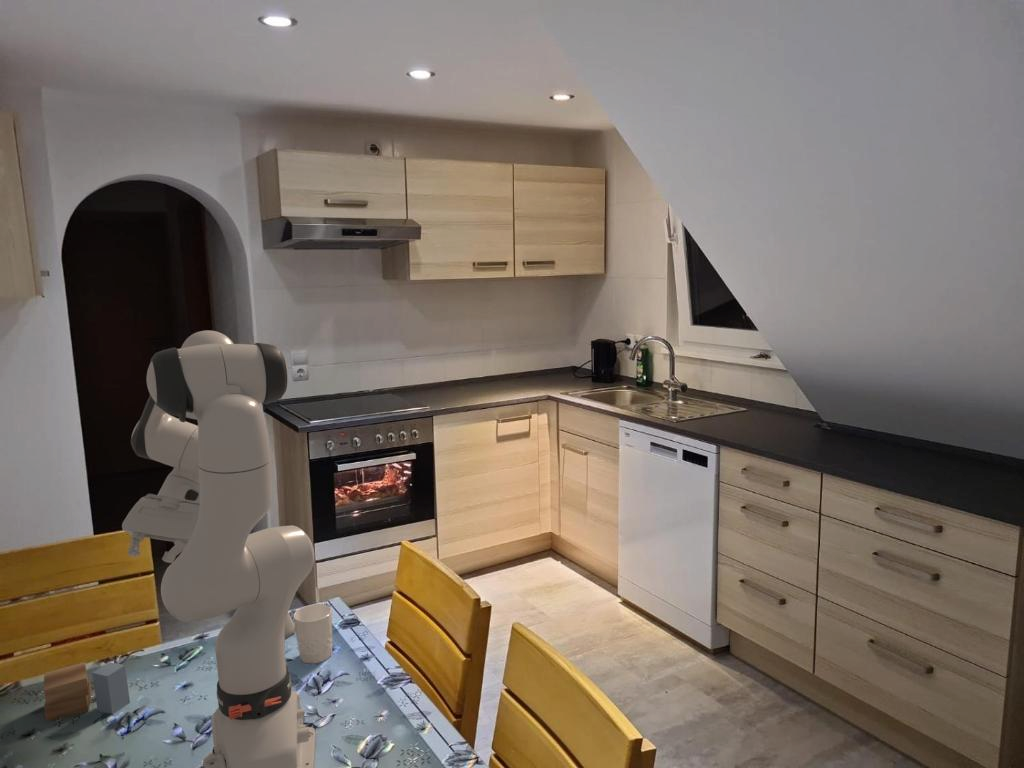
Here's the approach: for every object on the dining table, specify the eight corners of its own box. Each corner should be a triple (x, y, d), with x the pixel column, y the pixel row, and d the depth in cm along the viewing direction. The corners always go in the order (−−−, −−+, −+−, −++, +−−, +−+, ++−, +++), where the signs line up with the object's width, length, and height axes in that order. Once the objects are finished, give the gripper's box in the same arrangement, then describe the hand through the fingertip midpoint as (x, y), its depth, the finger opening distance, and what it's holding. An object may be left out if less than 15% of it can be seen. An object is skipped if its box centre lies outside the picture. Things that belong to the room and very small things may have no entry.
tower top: (88, 694, 145) (86, 678, 145) (46, 707, 142) (43, 690, 141) (87, 677, 151) (85, 661, 151) (46, 689, 148) (44, 673, 147)
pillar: (130, 702, 148) (124, 665, 146) (112, 714, 144) (107, 676, 143) (115, 698, 149) (109, 661, 148) (97, 710, 146) (91, 672, 144)
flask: (286, 642, 169) (282, 600, 167) (257, 639, 170) (253, 598, 168) (301, 626, 176) (298, 586, 174) (273, 624, 177) (269, 584, 175)
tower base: (88, 713, 145) (86, 696, 145) (46, 723, 143) (44, 706, 142) (92, 694, 152) (90, 678, 151) (52, 703, 149) (49, 687, 148)
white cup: (289, 658, 162) (285, 615, 160) (318, 642, 168) (314, 600, 166) (314, 669, 157) (310, 625, 155) (342, 652, 164) (339, 609, 162)
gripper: (134, 486, 162) (101, 546, 155) (208, 495, 155) (177, 559, 147) (153, 499, 167) (121, 558, 160) (226, 508, 159) (196, 571, 152)
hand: (149, 558), depth 154 cm, fingers open, 8 cm apart
